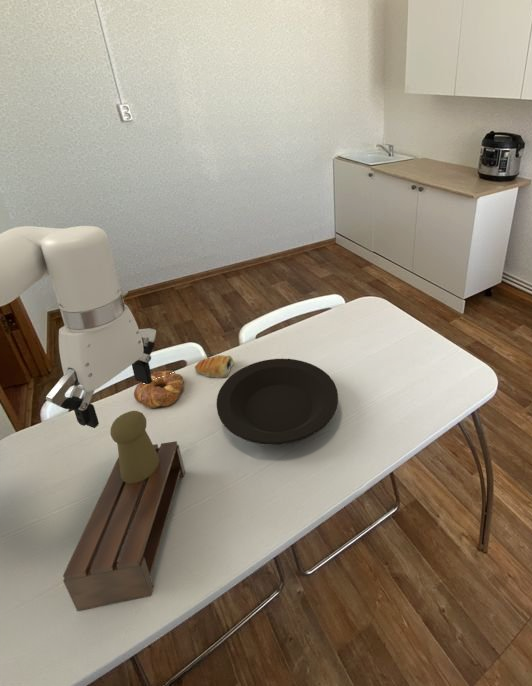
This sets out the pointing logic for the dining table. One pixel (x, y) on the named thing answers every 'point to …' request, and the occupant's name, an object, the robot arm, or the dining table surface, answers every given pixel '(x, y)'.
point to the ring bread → (160, 389)
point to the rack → (124, 535)
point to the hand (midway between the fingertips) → (118, 401)
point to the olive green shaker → (134, 447)
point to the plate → (277, 401)
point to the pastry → (215, 366)
